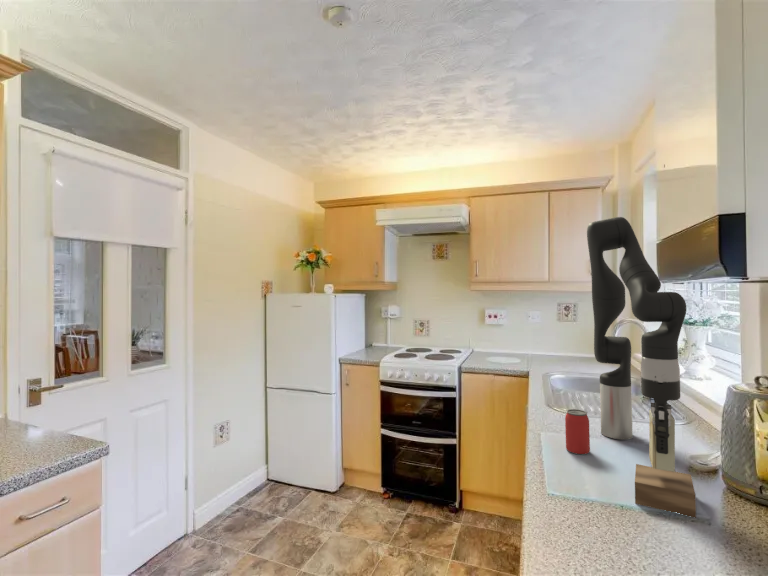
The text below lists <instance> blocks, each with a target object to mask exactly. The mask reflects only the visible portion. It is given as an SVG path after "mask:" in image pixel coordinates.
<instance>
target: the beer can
mask: <svg viewBox="0 0 768 576" xmlns="http://www.w3.org/2000/svg"><path fill="white" fill-rule="evenodd" d="M564 421H565V422H564V423H565V425H564V426H565V449H566V450H567V451H568V452H569V453H572V454H575V455H580V456H581V455H582V456H584V455H587V454H590V451H591V444H590V443H591V441H590V439H591V438H590V418H589V416H588V413H587V412H586V411H585V410H582V409H576V408H575V409H574V408H573V409H572V408H571V409H567V410H566V414H565V418H564Z"/></svg>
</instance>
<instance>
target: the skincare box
mask: <svg viewBox="0 0 768 576" xmlns="http://www.w3.org/2000/svg"><path fill="white" fill-rule="evenodd" d="M648 415H649V417H648V418H649V419H648V420H649V422H648V423H649V424H648V425H649V427H648V428H649V429H648V430H649V433H648V434H649V435H648V436H649V441H648V444H649V445H648V447H649V451H648V453H649V462H650V464H651V467H653V468H654V469H660V470H666V471H672V472H676V470H675V469H676V461H675V460H676V450H675V449H676V446H675V444H676V443H675V442H676V441H675V440H676V436H675V435H676V421H675V420H676V419H675V417H674V415H673V414H672V413H671V416H670V419H668V420H671V426H670V427H669V428H668V430H669V438H668V454H662V453H658V452H657V451H656V436H655V425H653V423H652V419H653V421H655V417H653V416H652V413H651V408H650V409H649V410H648ZM658 431H665V432H666V428H665V427H660V426H658Z"/></svg>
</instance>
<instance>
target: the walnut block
mask: <svg viewBox="0 0 768 576" xmlns="http://www.w3.org/2000/svg"><path fill="white" fill-rule="evenodd" d="M692 477H693V476H692V474H690V473H685V472H684V473H683V472H679V471H675V472H672V471H666V470H660V469H654V468H653V467H652V466H648V465H644V464H638V463H635V473H634V501H635V502H634V504H636V505H639V504H640V506H644V507H648V508H652V509H655V510H660V511H664V510H666V511H665V512H668V511H671V512H670V513H672V512H677V513H680V514H679V515H681V514H683V515H682V516H685V515H687V516H686V517H689V516H691V517H690V518H693V517H695V518H694V519H696V518H697V509H696V500H697V499H696V493H695V492H696V491H695V488H694V487H695V486H694V483H693V479H692Z"/></svg>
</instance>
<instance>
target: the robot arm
mask: <svg viewBox="0 0 768 576" xmlns="http://www.w3.org/2000/svg"><path fill="white" fill-rule="evenodd" d="M586 239H587V246H588V254H589V262H590V271H591V273H590V274H591V301H592V311H593V321H594V322H593V324H594V325H593V326H594V329H593V330H594V331H593V334H594V335H593V336H594V337H593V354H594V358H595V360H596V361H597V362H598V363H601V364H608V365H619V367H618V368H615V369H614V370H610V371H608V372H603V373H600V375H599V393H600V394H599V395H600V399H599V401H600V403H599V405H600V434H601V435H603V436H605V437H608V438H610V439H615V440H623V441H624V440H632V439H633V434H634V433H633V404H632V403H633V402H632V401H633V398H632V397H633V396H632V395H633V394H632V376H631V375H632V374H631V373H632V372H631V371H632V369H631V367H632V366H631V365H632V343H631V340H630V339H629V337H626V336H612V335H611V336H607V335H606V334H607V331H608V330H609V328H610V326H611V325H612V324H613V323H614V322H615V321H616V320H617V318H618V317H619V316H620V315H621V314H622V312H623V311H624V309H625V307H626V289H627V290H628V294H629V297H630V306H631V312H632V315H633V316H634V317H635V318H636V319H637V320H639V321H641V322H645V323H660V325H659V327H658V329H656V330H652V331H648V332H645V333H643V334H642V335H641V342H640V343H641V362H640V383H641V384H640V387H641V391H640V392H641V395H642V396H643V397H645V398H649V399H653V400H654V401H653V402H650V410H651V413H652V416H653V417H655V421H653V419H652V423H653V425H655V436H656V451H657V452H658V453H662V454H668V438H669V430H668V428H669V427H670V426H671V420H668V419H670V416H671V414H672V405H671V404H668V401H673V402H674V401H678V400H679V399H681V369H680V364H679V347H678V345H679V344H678V343H679V342H678V341H679V337H680V334H681V331H682V327H683V324H684V321H685V318H686V315H687V303H686V300H685V298H684V297H683V296H682V295H681V294H680V293H679V292H676V291H662V292H661V291H659V290H660V289H661V286H662V283H661V280H660V278H659V276H658V275H657V274H656V272H655V270H654V269H653V268H652V267H651V265H650V264H649V262H648V261H647V258H646V257H645V255H644V253H643V250H642V247H641V245H640V243H639V240H638V239H637V236H636V233H635V232H634V228H633V227H632V225H631V224H630V222H629V221H628V220H627V219H626V218H625V217H623V216H617V217H612V218H611V217H610V218H607V219H602V220H601V219H600V220H596V221H593V222H589V224H588V225H587V228H586ZM621 248H623V249H624V254H623V255H622V256H623V257H622V258H621V260H620V263H619V266H618V267H619V270H618V271H619V276H620V277H618V275H617V274H616V273H615V272H614V271H613V270H612V269H611V268H610V266H609V265H608V264H607V263H606V261H605V258H604V252H606V251H607V252H608V251H611V250H613V251H614V250H617V249H621ZM625 287H626V288H625ZM658 426H660V427H665V428H666V432H665V431H658Z"/></svg>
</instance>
